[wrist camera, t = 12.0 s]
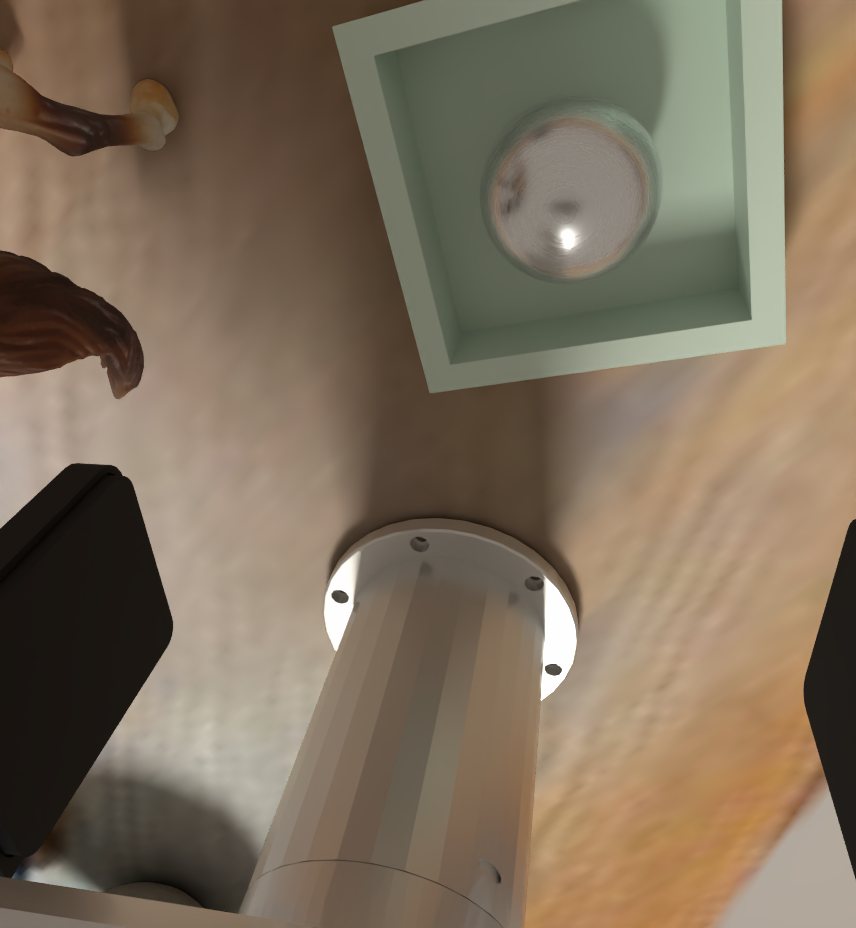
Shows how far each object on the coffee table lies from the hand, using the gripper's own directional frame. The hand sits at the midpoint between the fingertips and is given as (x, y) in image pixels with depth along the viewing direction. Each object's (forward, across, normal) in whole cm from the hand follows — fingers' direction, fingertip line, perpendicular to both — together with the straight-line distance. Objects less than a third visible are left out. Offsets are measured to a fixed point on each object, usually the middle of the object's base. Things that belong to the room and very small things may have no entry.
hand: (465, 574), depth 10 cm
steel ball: (+20, -1, -1) cm, 20 cm away
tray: (+20, -1, -1) cm, 20 cm away
